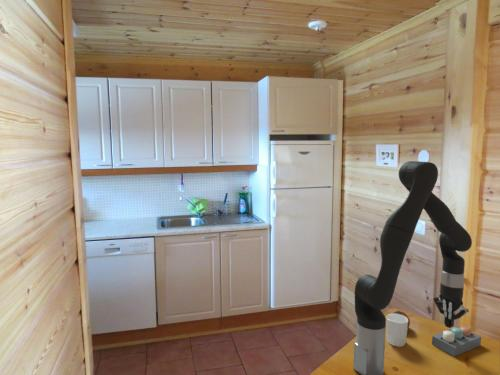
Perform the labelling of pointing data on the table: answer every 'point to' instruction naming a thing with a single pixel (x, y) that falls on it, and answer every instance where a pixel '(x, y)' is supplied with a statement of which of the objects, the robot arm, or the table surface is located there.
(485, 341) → the table surface
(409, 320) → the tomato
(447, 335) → the ivory button
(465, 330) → the pink cube
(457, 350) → the button panel
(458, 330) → the teal button
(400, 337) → the white cup
